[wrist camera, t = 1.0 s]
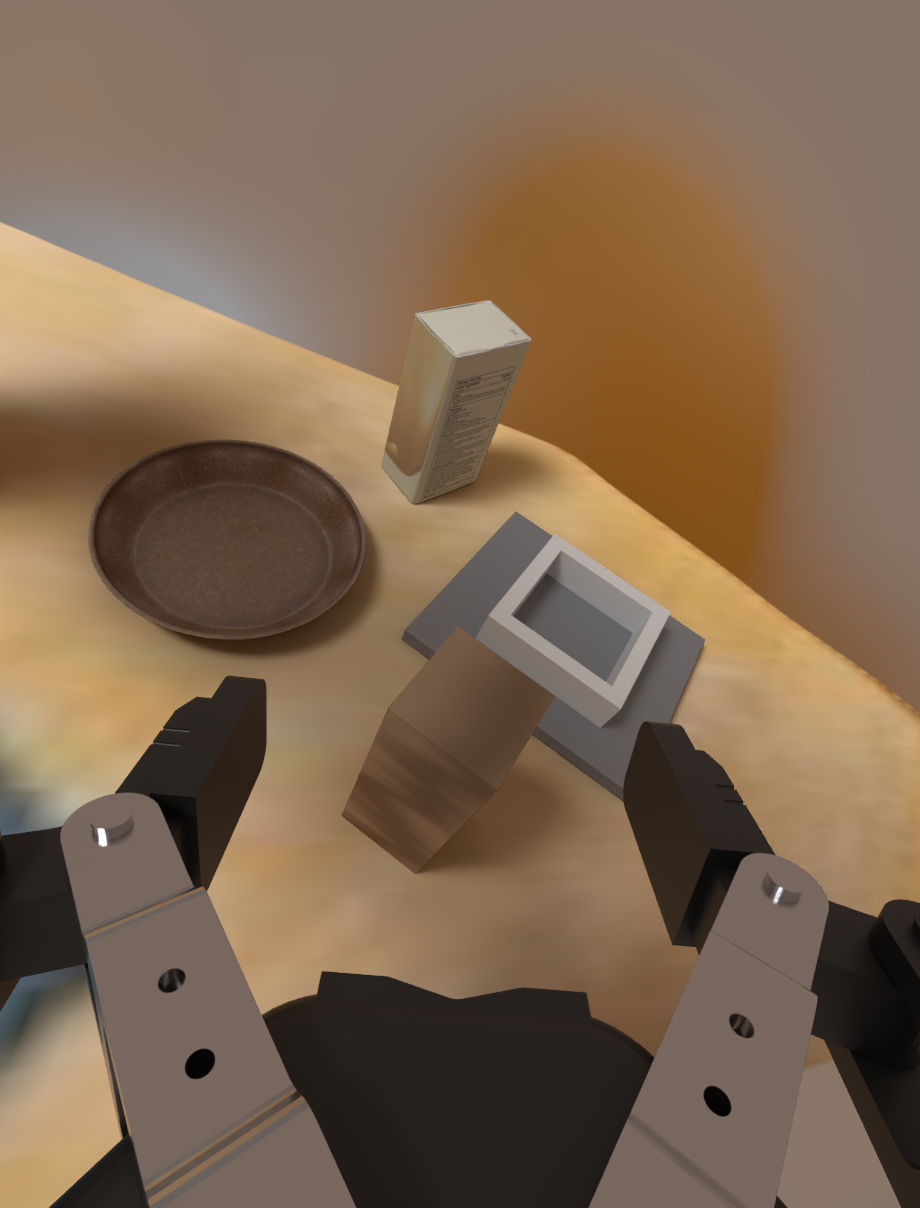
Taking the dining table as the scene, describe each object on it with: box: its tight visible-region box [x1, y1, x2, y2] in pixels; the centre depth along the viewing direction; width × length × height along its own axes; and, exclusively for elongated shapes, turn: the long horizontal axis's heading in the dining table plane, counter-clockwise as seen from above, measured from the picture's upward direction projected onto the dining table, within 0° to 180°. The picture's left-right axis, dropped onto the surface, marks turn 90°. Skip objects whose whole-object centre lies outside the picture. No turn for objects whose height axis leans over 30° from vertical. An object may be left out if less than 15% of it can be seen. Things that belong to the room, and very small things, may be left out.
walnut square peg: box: [342, 627, 555, 874], centre depth 27 cm, size 4×4×12 cm
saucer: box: [89, 440, 366, 640], centre depth 36 cm, size 15×15×3 cm
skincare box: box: [382, 301, 531, 504], centre depth 41 cm, size 6×4×12 cm
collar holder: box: [402, 512, 705, 801], centre depth 39 cm, size 16×14×4 cm
